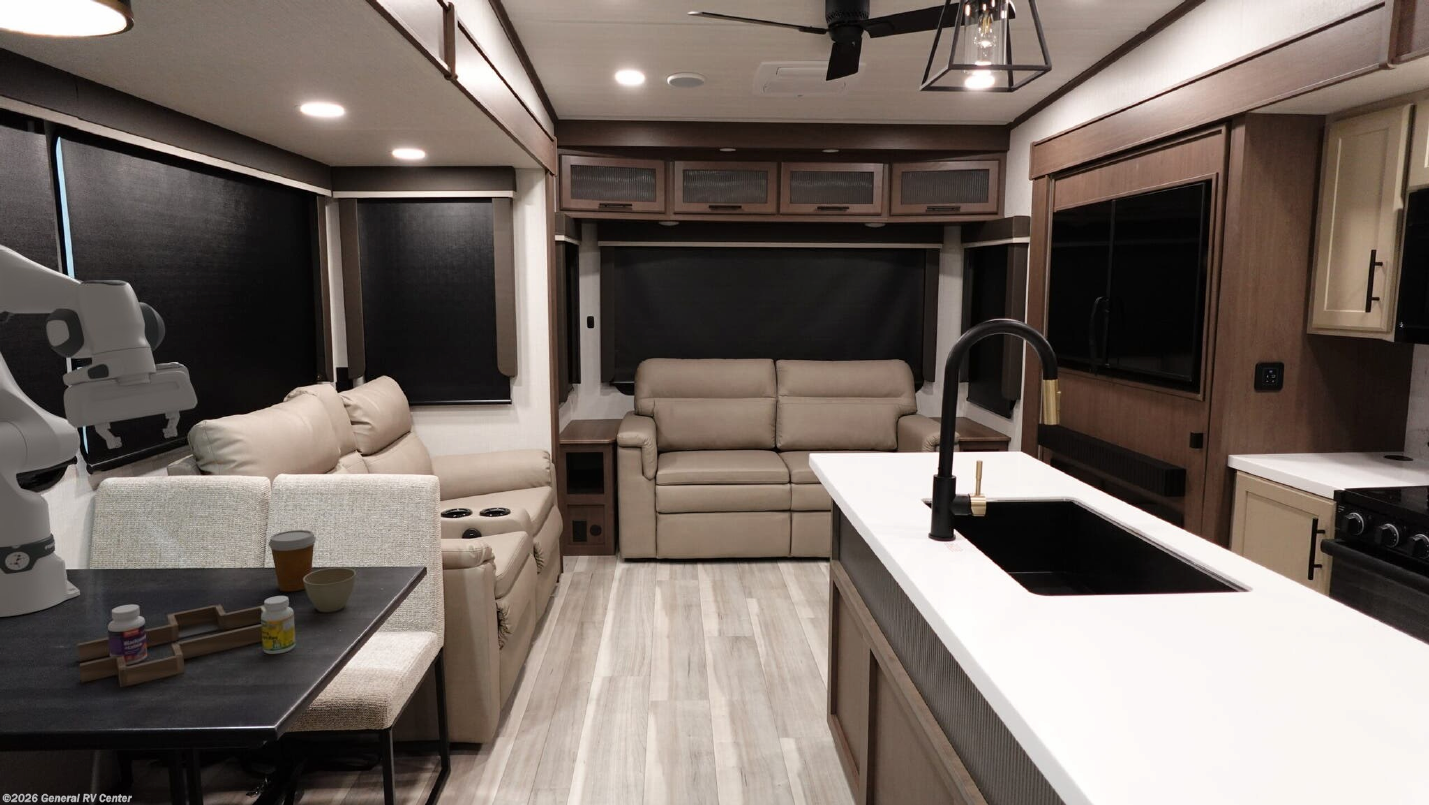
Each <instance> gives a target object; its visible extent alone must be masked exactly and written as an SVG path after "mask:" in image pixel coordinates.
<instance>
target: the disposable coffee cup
mask: <svg viewBox="0 0 1429 805" xmlns="http://www.w3.org/2000/svg"><path fill="white" fill-rule="evenodd" d="M316 540H317V538H316V536H315V534H314V532H313V531H312V530H307V529H293V530H285V531H281V532H278V533H274V534H273V535H271V536H270V539H269V542H268V543H267V544H268V547H269V548H270V549H271V555H272V559H273V564H274V569H275V575H276V578H277V579H276V580H277V584H278V589H279V590H280V591H282V592H297V591H301V590H304V589H305V586H304V581H303V578H304V577H305V576H306V575H308V574H309V573H312V572H313V571H312V570H313V560H314V559H313V558H314V550H315V549H314V548H315V544H316ZM305 590H306V589H305Z"/></svg>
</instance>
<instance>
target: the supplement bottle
mask: <svg viewBox="0 0 1429 805" xmlns="http://www.w3.org/2000/svg"><path fill="white" fill-rule="evenodd" d="M289 605H290V601H289V597H288V596H285V595H277V596H271V597H268V598H266V599H265V600H264V602H263V606H264V608H265V609H266V610H265V611H264V612H263V613H262V615H261V622H260V624H261V625H262V641H261V642H262V649H263V652H264V653H266V654H269V655H279V654H283V653H288V652H289V651H292V649H294V648H295V646H296V630H295V614H294V613H295V612H294V610H293V608H292V607H290V606H289Z"/></svg>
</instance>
